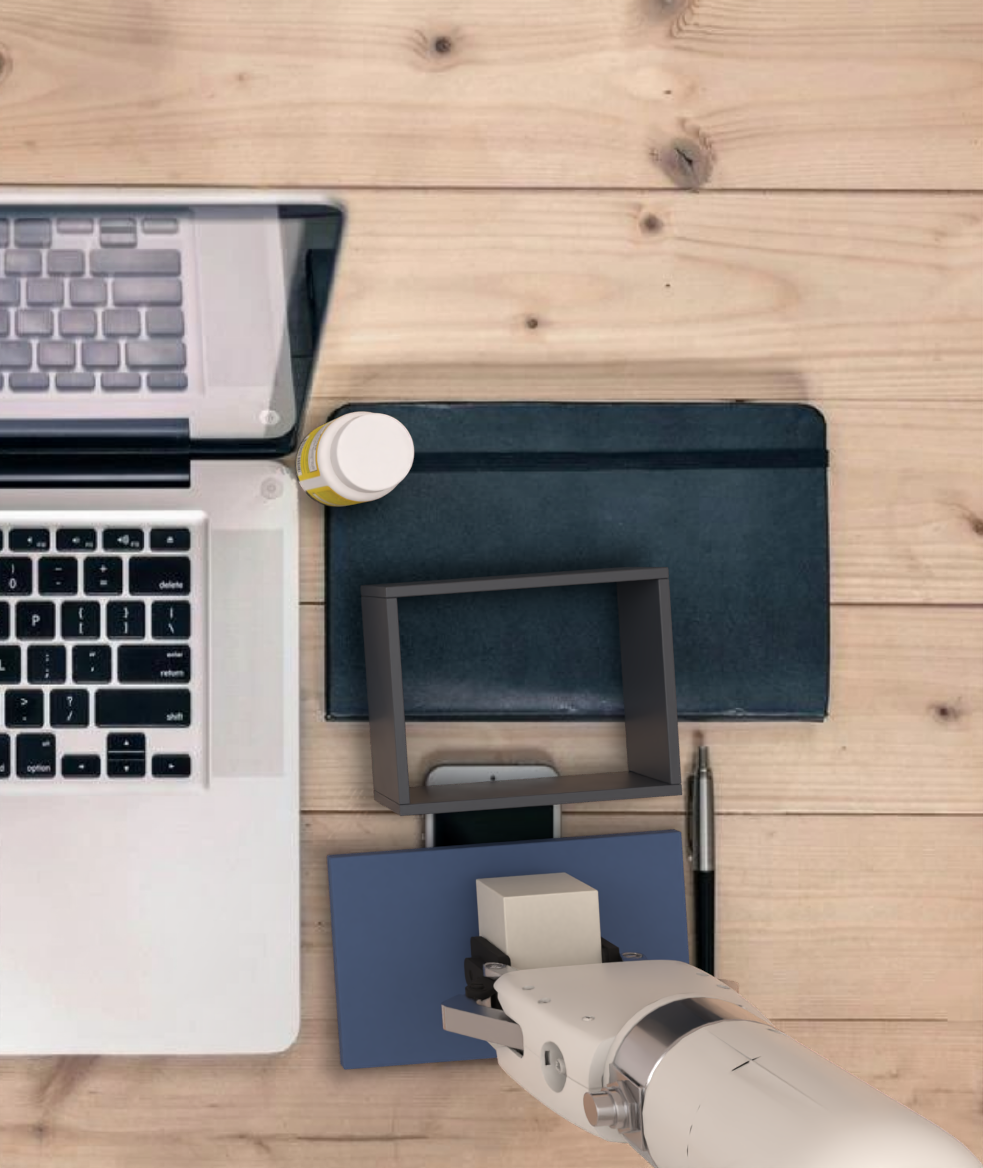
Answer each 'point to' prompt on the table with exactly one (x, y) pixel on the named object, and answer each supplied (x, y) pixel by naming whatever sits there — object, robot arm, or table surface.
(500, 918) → the block
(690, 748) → the table surface
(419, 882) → the pad
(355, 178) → the table surface
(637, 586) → the dark grey rectangular frame
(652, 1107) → the robot arm
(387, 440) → the supplement bottle
